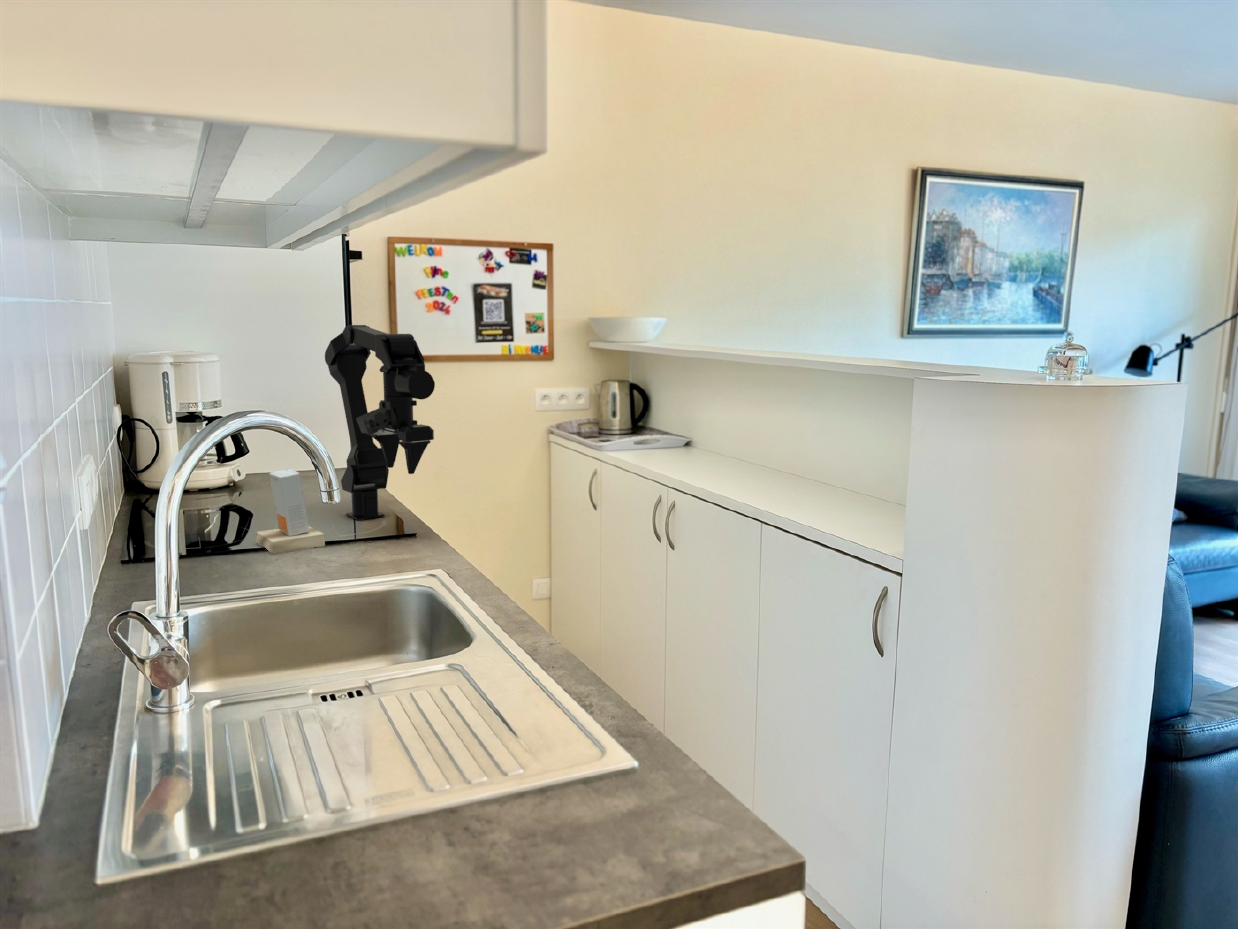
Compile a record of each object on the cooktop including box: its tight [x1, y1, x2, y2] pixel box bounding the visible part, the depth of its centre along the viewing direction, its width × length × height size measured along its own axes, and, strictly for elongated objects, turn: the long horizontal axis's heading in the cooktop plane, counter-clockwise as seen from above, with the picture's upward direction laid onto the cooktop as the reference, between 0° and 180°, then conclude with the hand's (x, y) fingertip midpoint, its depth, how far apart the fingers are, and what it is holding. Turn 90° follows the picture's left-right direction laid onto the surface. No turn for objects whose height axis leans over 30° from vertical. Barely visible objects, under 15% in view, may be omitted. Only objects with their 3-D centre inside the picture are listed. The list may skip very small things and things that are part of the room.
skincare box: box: [269, 468, 310, 536], centre depth 176 cm, size 6×4×12 cm
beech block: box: [255, 525, 326, 555], centre depth 178 cm, size 10×10×3 cm
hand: (400, 470), depth 187 cm, fingers open, 9 cm apart
